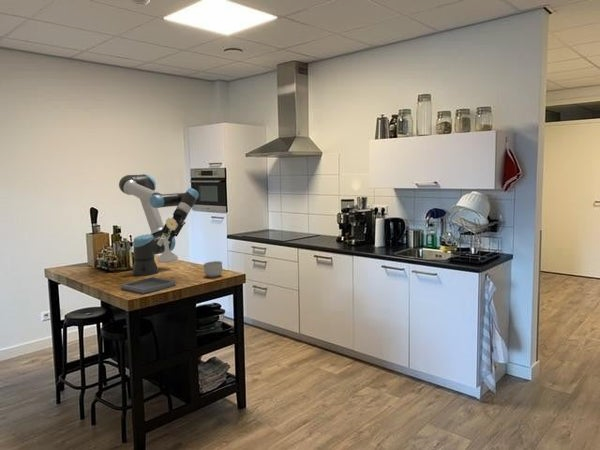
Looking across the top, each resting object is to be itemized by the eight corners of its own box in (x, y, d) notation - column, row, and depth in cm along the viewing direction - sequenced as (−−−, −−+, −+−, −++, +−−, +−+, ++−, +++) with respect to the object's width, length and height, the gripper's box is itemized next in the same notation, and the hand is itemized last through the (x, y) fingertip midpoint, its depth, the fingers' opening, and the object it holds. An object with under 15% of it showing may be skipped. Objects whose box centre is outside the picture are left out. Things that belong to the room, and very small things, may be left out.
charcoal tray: (121, 289, 247) (120, 284, 247) (152, 281, 263) (152, 277, 263) (144, 294, 235) (143, 289, 235) (175, 285, 251) (175, 281, 251)
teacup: (218, 278, 267) (218, 264, 266) (201, 277, 269) (200, 264, 268) (227, 272, 280) (226, 260, 279) (210, 272, 282) (209, 259, 281)
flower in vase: (162, 265, 253) (158, 220, 248) (154, 261, 261) (150, 218, 257) (184, 261, 261) (180, 217, 256) (176, 257, 269) (172, 215, 265)
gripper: (196, 216, 265) (176, 250, 254) (175, 215, 274) (156, 247, 264) (188, 208, 260) (168, 242, 249) (167, 207, 269) (147, 240, 259)
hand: (162, 245), depth 256 cm, fingers open, 4 cm apart
